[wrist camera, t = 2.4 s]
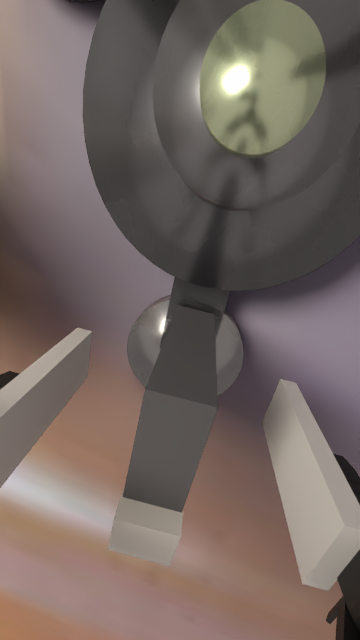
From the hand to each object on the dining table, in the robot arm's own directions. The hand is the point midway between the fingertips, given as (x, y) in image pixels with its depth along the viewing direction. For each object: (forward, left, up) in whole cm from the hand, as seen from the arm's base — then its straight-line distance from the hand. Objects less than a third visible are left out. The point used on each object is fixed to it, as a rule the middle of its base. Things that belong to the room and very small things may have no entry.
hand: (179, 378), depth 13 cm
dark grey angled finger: (0, 0, -2) cm, 2 cm away
